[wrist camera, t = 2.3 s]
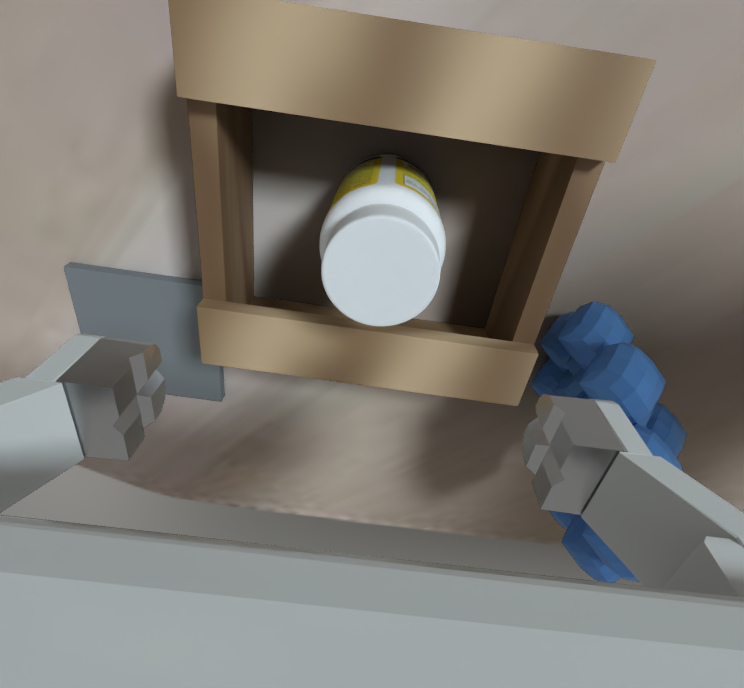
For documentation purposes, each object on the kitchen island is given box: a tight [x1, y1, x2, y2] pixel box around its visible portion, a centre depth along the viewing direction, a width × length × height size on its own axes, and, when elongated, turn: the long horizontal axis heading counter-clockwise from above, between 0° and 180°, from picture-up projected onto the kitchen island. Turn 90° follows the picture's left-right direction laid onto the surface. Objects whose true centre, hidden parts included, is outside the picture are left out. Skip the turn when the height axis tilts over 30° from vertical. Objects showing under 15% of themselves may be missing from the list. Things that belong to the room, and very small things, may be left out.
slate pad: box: [64, 262, 225, 402], centre depth 26 cm, size 8×8×1 cm
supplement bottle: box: [320, 155, 446, 326], centre depth 18 cm, size 5×5×8 cm
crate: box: [168, 0, 656, 406], centre depth 20 cm, size 15×14×5 cm
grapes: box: [531, 302, 687, 583], centre depth 21 cm, size 12×7×12 cm, turn 3°
